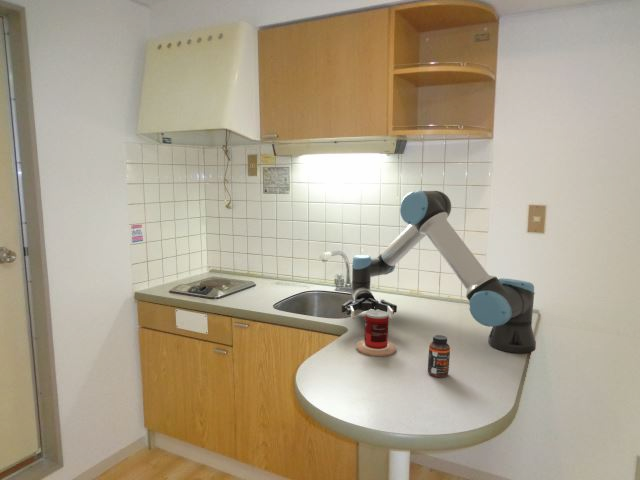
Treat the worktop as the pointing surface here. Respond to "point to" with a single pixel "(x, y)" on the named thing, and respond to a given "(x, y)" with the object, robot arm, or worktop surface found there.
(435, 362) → the supplement bottle
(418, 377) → the worktop surface
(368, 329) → the canned food
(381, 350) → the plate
